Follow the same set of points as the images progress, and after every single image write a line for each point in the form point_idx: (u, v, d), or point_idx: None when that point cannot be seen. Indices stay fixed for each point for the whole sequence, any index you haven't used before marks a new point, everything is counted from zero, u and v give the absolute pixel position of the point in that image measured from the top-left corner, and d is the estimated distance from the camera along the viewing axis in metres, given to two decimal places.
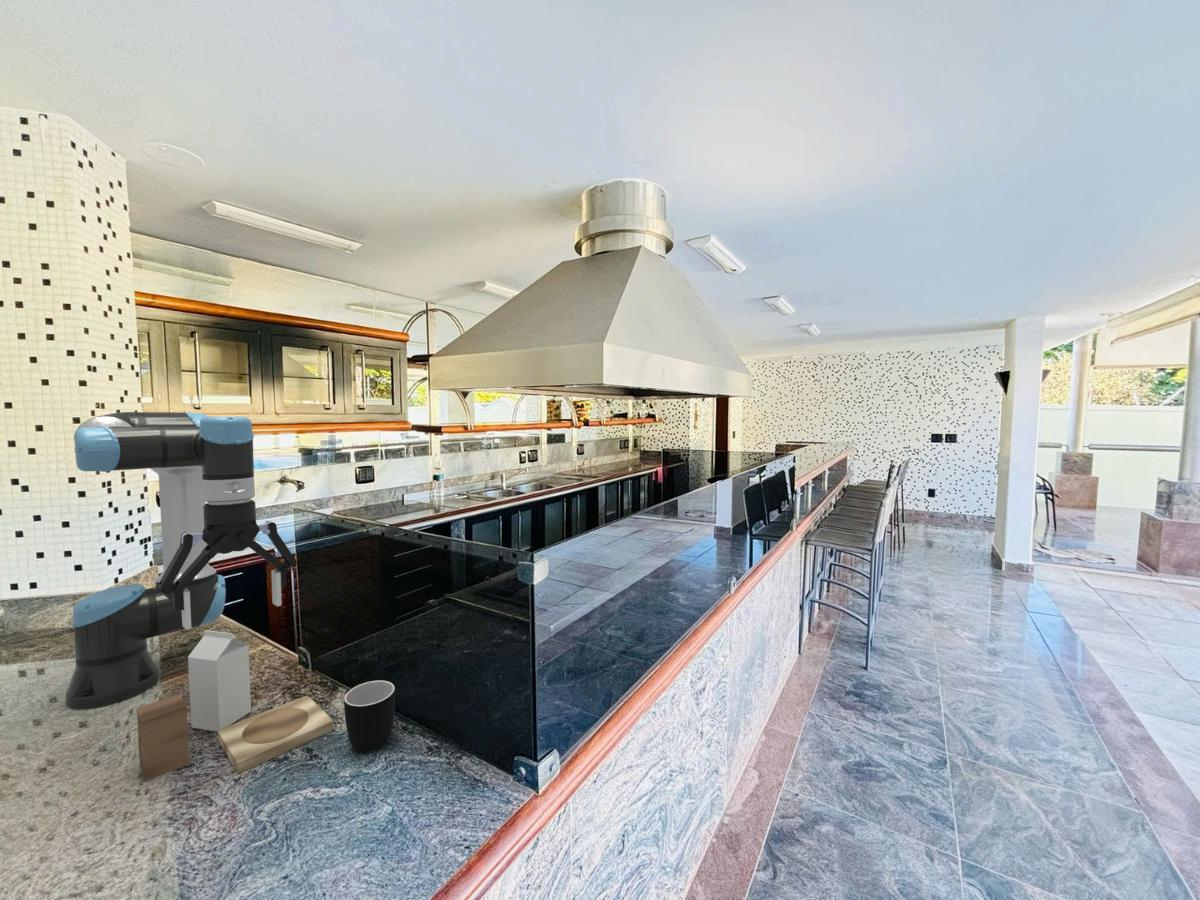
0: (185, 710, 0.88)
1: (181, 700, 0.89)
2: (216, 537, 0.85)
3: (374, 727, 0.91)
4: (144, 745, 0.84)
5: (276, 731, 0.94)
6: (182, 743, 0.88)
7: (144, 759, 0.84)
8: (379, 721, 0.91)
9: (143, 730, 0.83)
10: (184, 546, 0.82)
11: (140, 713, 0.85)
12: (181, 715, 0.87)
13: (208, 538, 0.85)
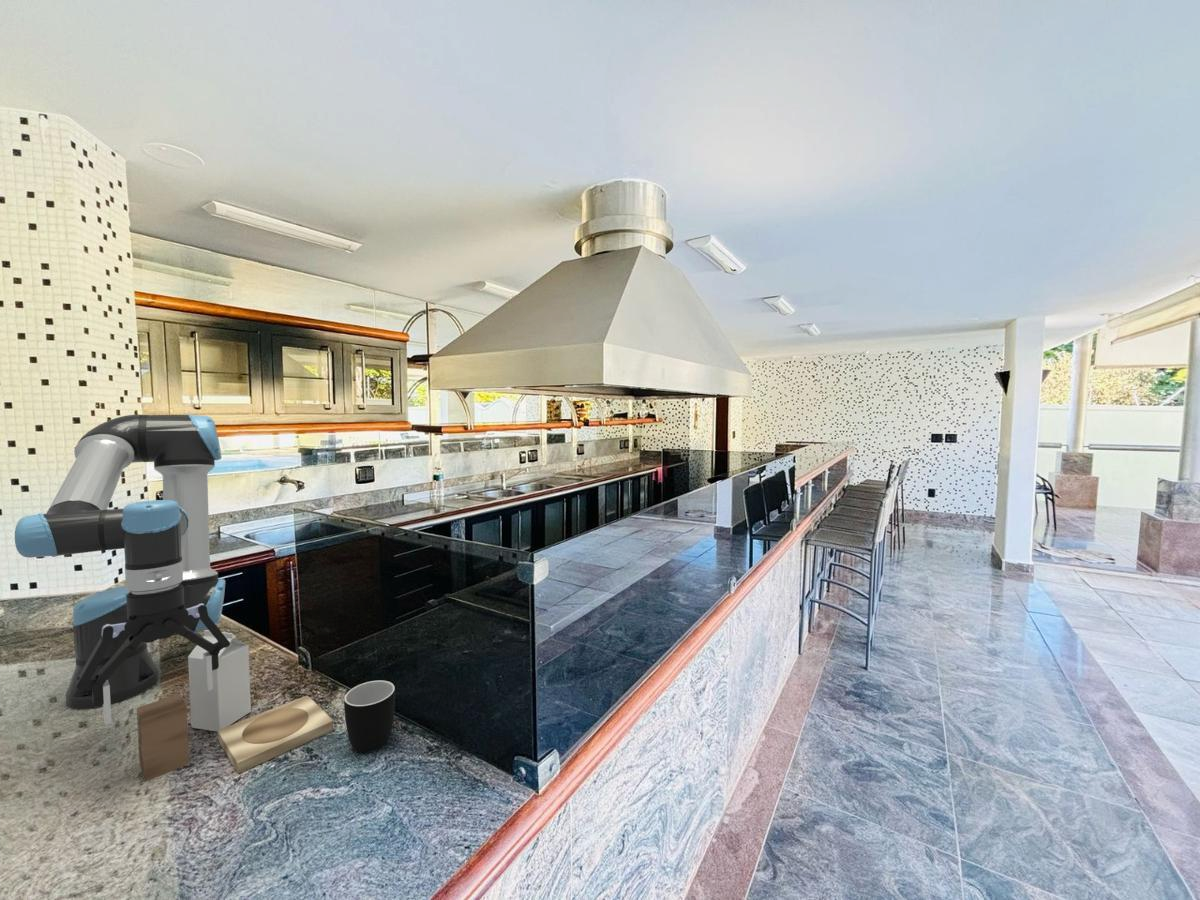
0: (185, 710, 0.88)
1: (181, 700, 0.89)
2: (139, 627, 0.84)
3: (374, 727, 0.91)
4: (144, 745, 0.84)
5: (276, 731, 0.94)
6: (182, 743, 0.88)
7: (144, 759, 0.84)
8: (379, 721, 0.91)
9: (143, 730, 0.83)
10: (103, 639, 0.80)
11: (140, 713, 0.85)
12: (181, 715, 0.87)
13: (130, 628, 0.83)
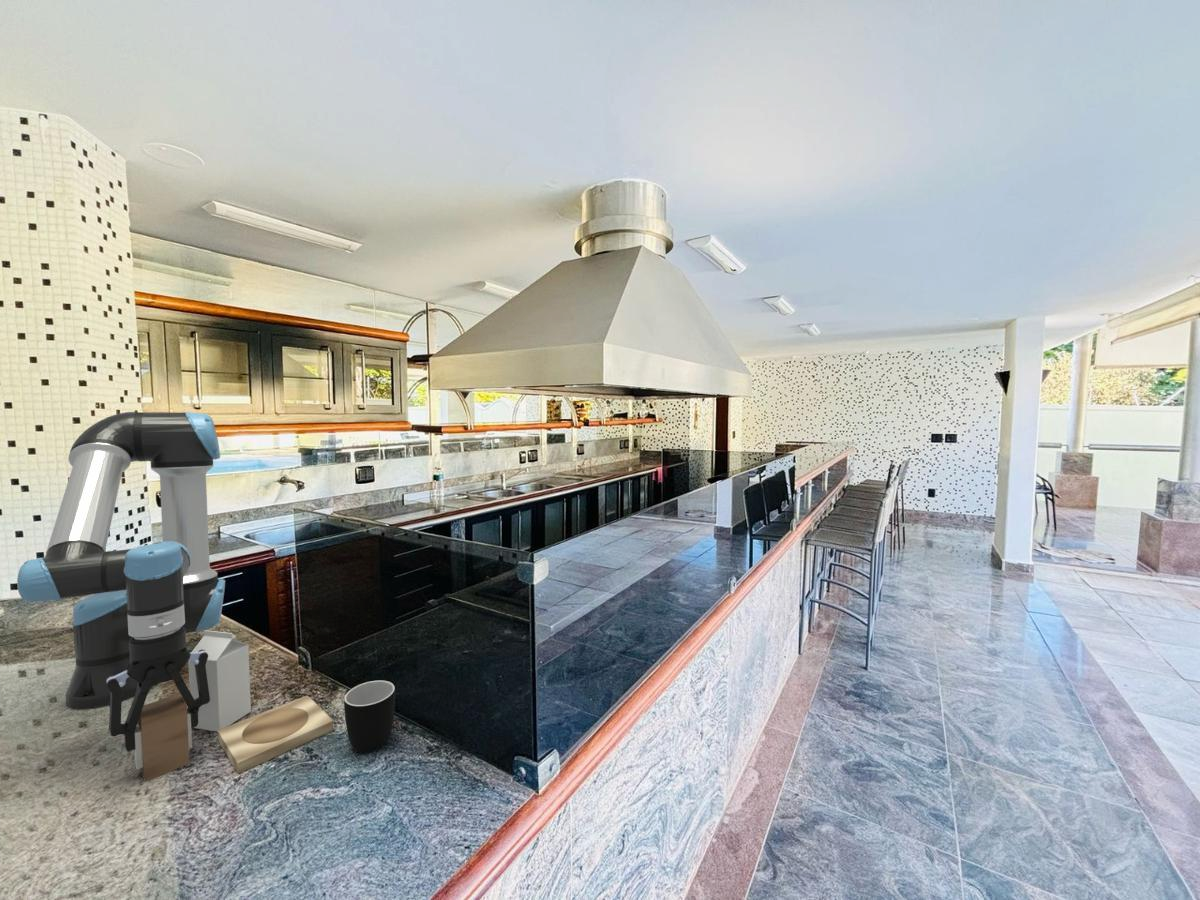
0: (185, 710, 0.88)
1: (181, 700, 0.89)
2: (142, 669, 0.84)
3: (374, 727, 0.91)
4: (144, 745, 0.84)
5: (276, 731, 0.94)
6: (182, 743, 0.87)
7: (144, 759, 0.84)
8: (379, 721, 0.91)
9: (143, 730, 0.83)
10: (113, 692, 0.82)
11: None
12: (181, 715, 0.87)
13: (134, 674, 0.84)
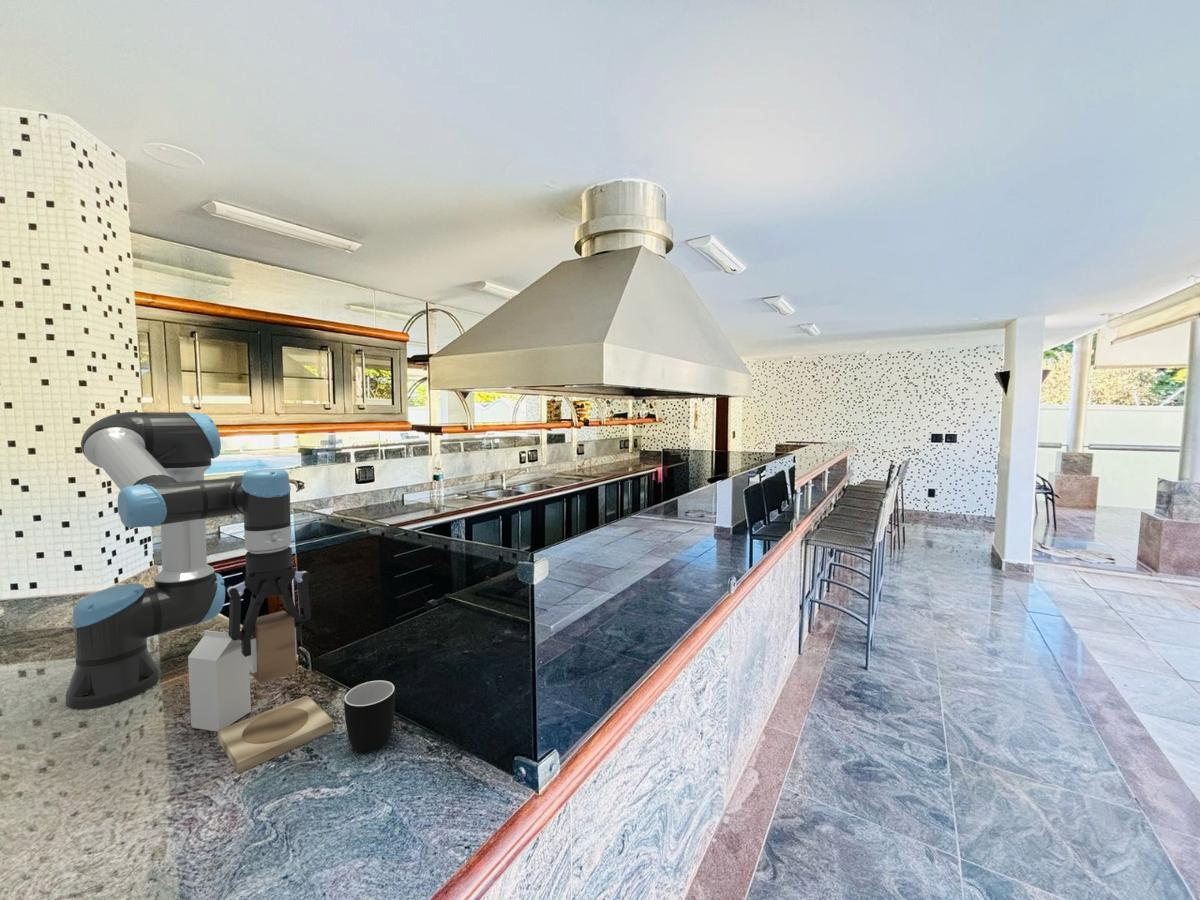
0: (293, 622, 0.95)
1: (287, 614, 0.97)
2: (257, 582, 0.92)
3: (374, 727, 0.91)
4: (260, 650, 0.91)
5: (276, 731, 0.94)
6: (290, 652, 0.95)
7: (260, 663, 0.91)
8: (379, 721, 0.91)
9: (259, 636, 0.91)
10: (234, 599, 0.89)
11: None
12: (289, 626, 0.95)
13: (251, 585, 0.91)
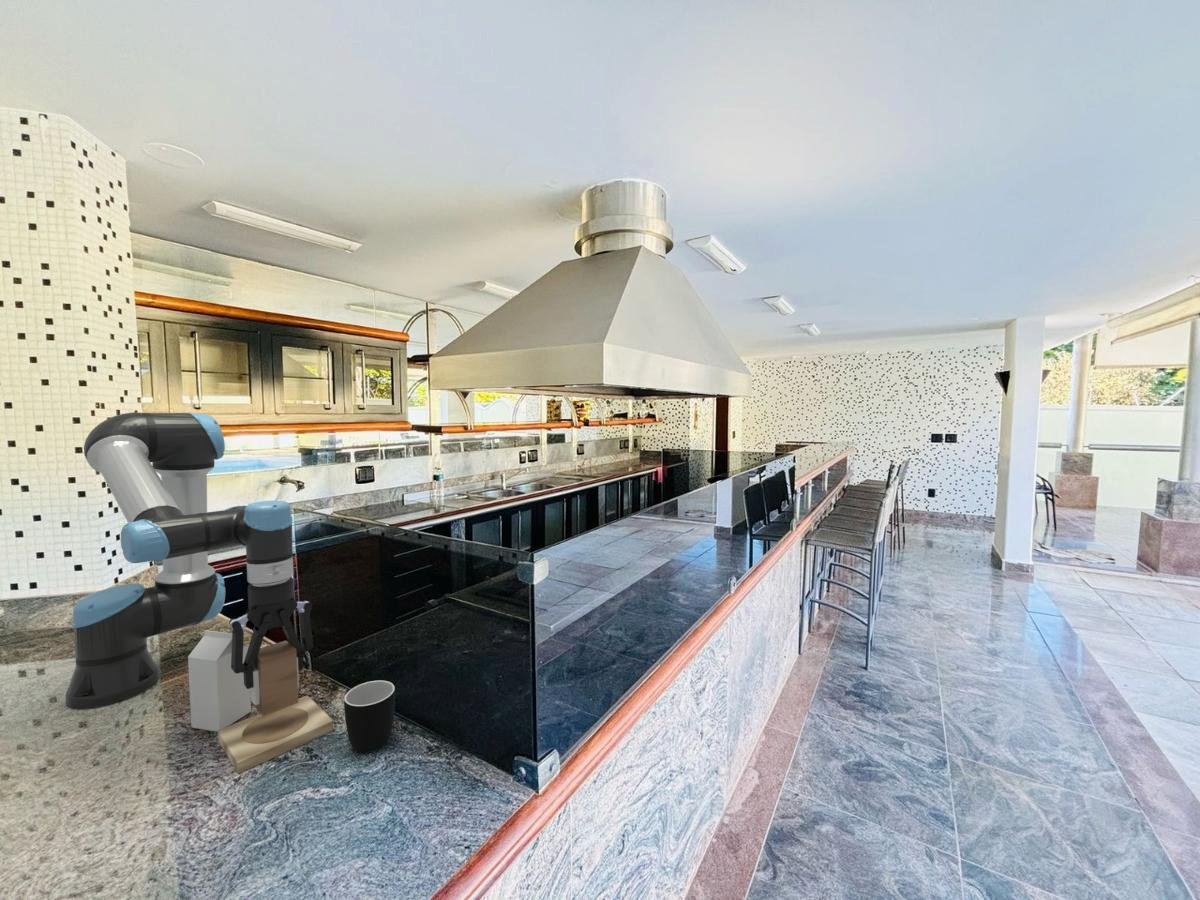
0: (295, 653, 0.96)
1: (289, 645, 0.97)
2: (260, 614, 0.92)
3: (374, 727, 0.91)
4: (262, 682, 0.92)
5: (276, 731, 0.94)
6: (292, 683, 0.95)
7: (262, 695, 0.92)
8: (379, 721, 0.91)
9: (262, 669, 0.91)
10: (236, 633, 0.90)
11: None
12: (291, 658, 0.95)
13: (253, 618, 0.92)
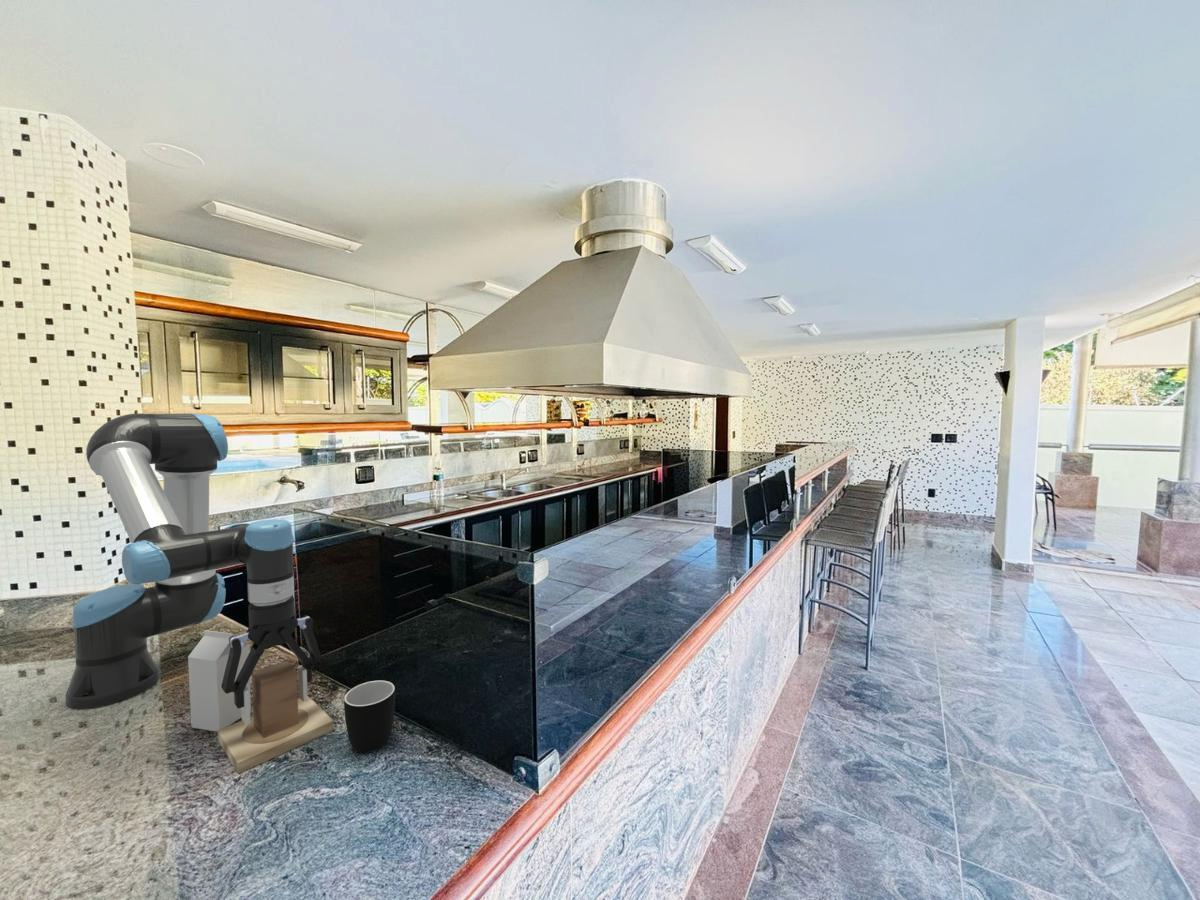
0: (295, 674, 0.96)
1: (290, 666, 0.98)
2: (260, 634, 0.93)
3: (374, 727, 0.91)
4: (263, 705, 0.92)
5: None
6: (292, 704, 0.96)
7: (263, 717, 0.92)
8: (379, 721, 0.91)
9: (262, 691, 0.92)
10: (235, 650, 0.90)
11: (257, 676, 0.94)
12: (292, 679, 0.95)
13: (253, 637, 0.92)
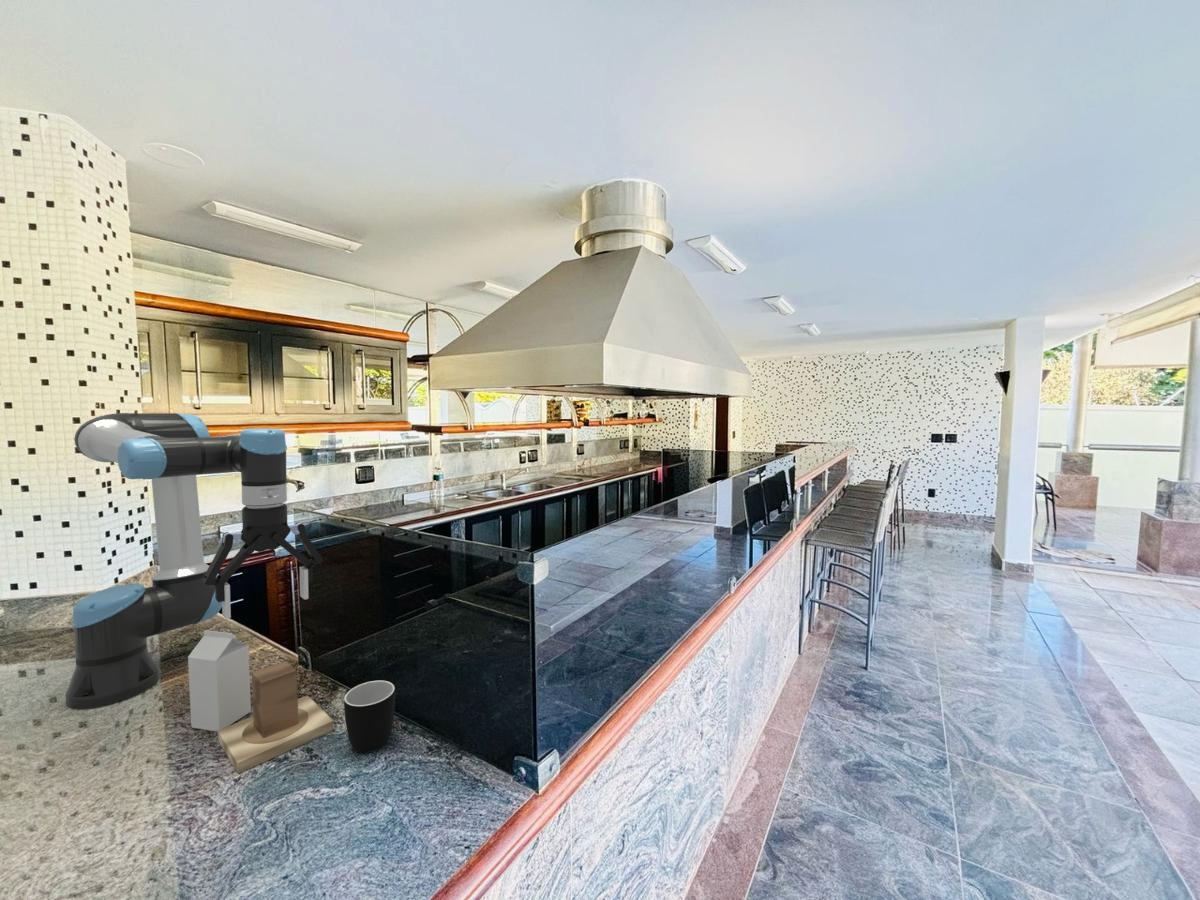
0: (295, 674, 0.96)
1: (290, 666, 0.98)
2: (253, 537, 0.96)
3: (374, 727, 0.91)
4: (263, 705, 0.92)
5: None
6: (292, 704, 0.96)
7: (263, 717, 0.92)
8: (379, 721, 0.91)
9: (262, 691, 0.92)
10: (226, 545, 0.92)
11: (257, 676, 0.94)
12: (292, 679, 0.95)
13: (246, 538, 0.95)
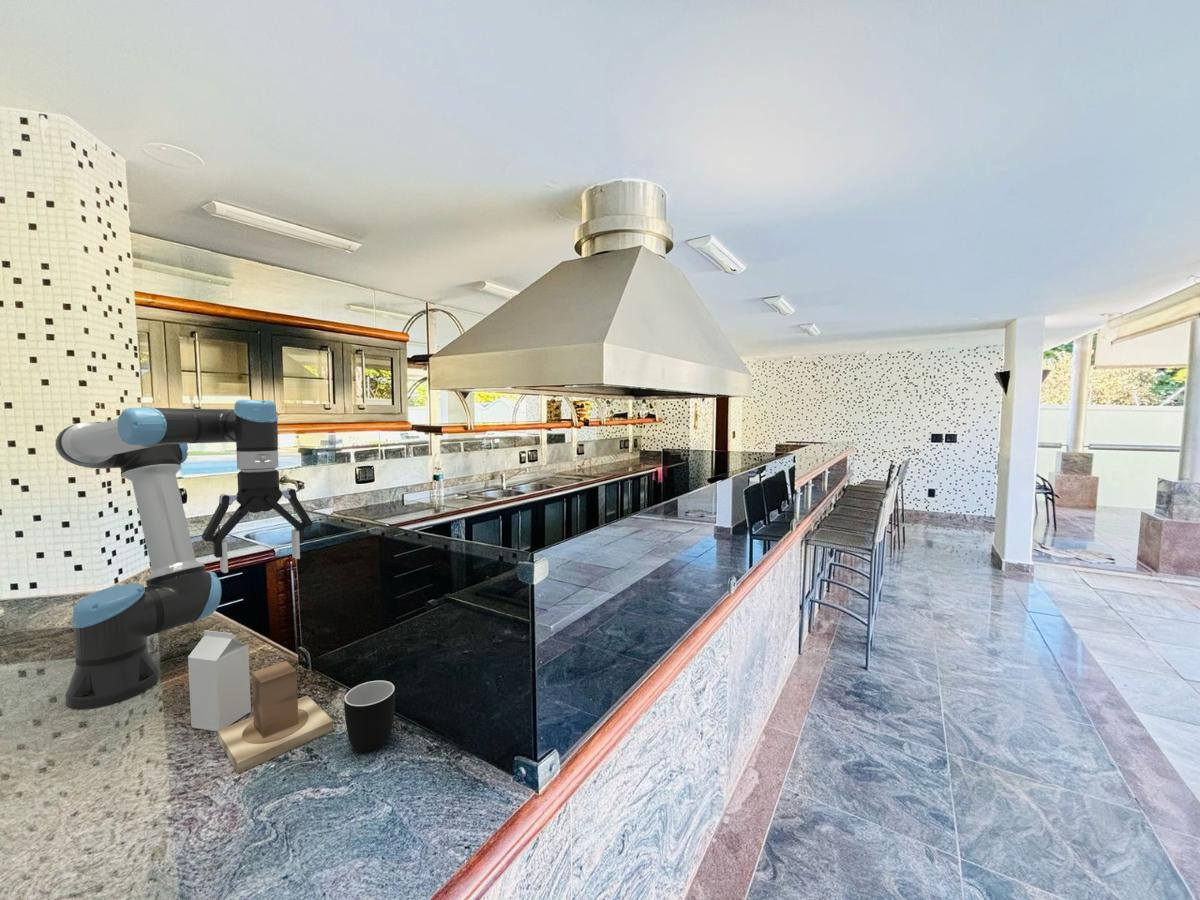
0: (295, 674, 0.96)
1: (290, 666, 0.98)
2: (247, 499, 1.04)
3: (374, 727, 0.91)
4: (263, 705, 0.92)
5: None
6: (292, 704, 0.96)
7: (263, 717, 0.92)
8: (379, 721, 0.91)
9: (262, 691, 0.92)
10: (223, 505, 1.01)
11: (257, 676, 0.94)
12: (292, 679, 0.95)
13: (241, 499, 1.04)
